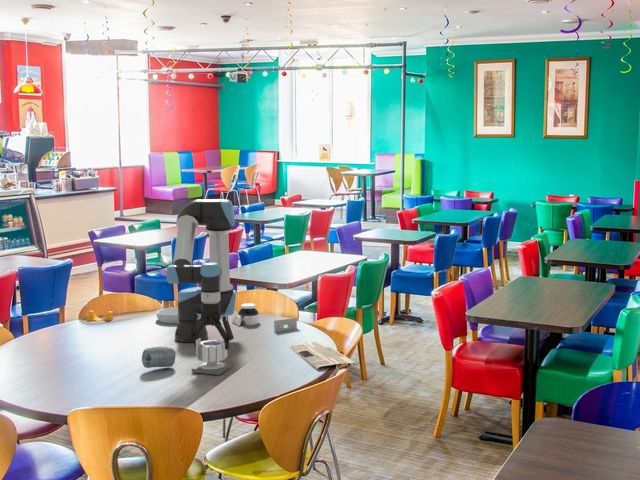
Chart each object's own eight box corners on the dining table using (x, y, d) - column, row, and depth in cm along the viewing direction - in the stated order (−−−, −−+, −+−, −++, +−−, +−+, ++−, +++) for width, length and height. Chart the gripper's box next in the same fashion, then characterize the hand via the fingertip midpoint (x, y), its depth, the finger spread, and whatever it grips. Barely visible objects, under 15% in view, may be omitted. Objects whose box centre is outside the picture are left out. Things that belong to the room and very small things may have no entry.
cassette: (295, 332, 368) (295, 317, 367) (297, 333, 366) (297, 317, 365) (273, 335, 361) (273, 320, 361) (275, 336, 360) (275, 320, 359)
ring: (193, 360, 301) (192, 345, 301) (205, 353, 312) (205, 339, 311) (218, 362, 298) (217, 347, 297) (230, 355, 308) (230, 341, 308)
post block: (191, 372, 302) (191, 353, 301) (205, 364, 313) (205, 346, 312) (219, 375, 298) (218, 356, 297) (232, 366, 309) (231, 348, 308)
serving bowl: (178, 317, 402) (177, 305, 401) (206, 322, 390) (206, 309, 389) (147, 325, 385) (147, 311, 384) (176, 330, 373) (176, 316, 372)
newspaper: (288, 350, 337) (287, 344, 337) (328, 346, 344) (328, 340, 343) (317, 372, 303) (317, 365, 302) (361, 367, 309) (361, 361, 309)
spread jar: (261, 327, 379) (261, 304, 378) (247, 332, 369) (246, 308, 368) (242, 324, 385) (241, 302, 384) (227, 329, 376) (227, 305, 375)
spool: (142, 368, 298) (151, 344, 299) (135, 362, 306) (143, 339, 307) (174, 376, 305) (182, 352, 306) (165, 370, 313) (173, 347, 314)
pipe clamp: (87, 324, 387) (86, 312, 386) (91, 323, 391) (91, 310, 390) (109, 325, 384) (109, 313, 384) (113, 323, 389) (112, 311, 388)
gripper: (179, 302, 303) (181, 356, 305) (233, 305, 295) (234, 360, 298) (188, 298, 310) (190, 351, 312) (241, 301, 302) (242, 356, 305)
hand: (211, 356), depth 305 cm, fingers closed on ring, 11 cm apart
